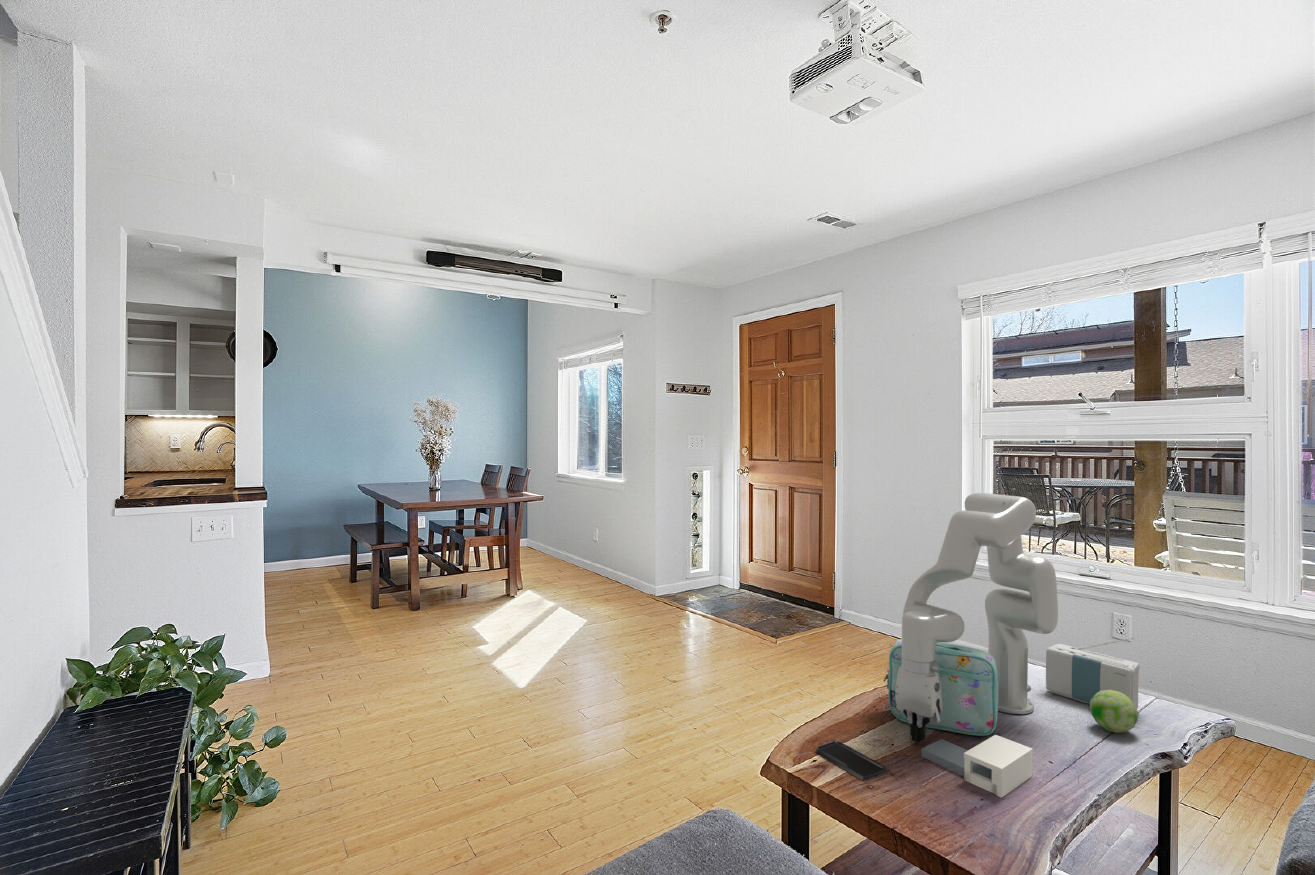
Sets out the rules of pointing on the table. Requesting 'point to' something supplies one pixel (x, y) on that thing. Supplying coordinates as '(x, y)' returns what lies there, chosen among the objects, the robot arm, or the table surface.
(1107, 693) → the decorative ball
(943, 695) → the lunch box
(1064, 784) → the table surface
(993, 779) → the white hollow box
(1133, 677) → the stereo radio cassette player
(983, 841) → the table surface
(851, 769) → the phone
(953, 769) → the slate board
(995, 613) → the robot arm
